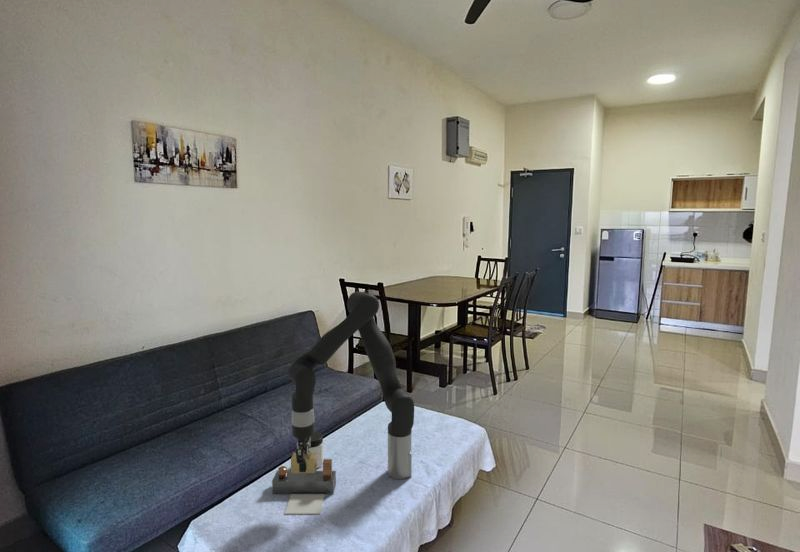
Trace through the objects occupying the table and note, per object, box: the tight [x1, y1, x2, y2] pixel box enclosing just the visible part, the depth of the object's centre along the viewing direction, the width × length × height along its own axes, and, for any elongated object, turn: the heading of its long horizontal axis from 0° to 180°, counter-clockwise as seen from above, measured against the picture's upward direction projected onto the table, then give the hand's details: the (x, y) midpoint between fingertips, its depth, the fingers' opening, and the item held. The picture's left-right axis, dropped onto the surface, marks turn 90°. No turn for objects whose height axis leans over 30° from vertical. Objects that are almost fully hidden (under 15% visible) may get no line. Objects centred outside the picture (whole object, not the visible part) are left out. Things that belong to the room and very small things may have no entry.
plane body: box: [271, 458, 337, 495], centre depth 163 cm, size 22×6×11 cm, turn 90°
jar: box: [309, 431, 324, 469], centre depth 179 cm, size 9×8×12 cm
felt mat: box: [284, 494, 326, 515], centre depth 155 cm, size 12×10×1 cm
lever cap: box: [290, 451, 317, 473], centre depth 152 cm, size 8×4×5 cm, turn 90°
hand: (304, 467), depth 153 cm, fingers closed on lever cap, 4 cm apart
